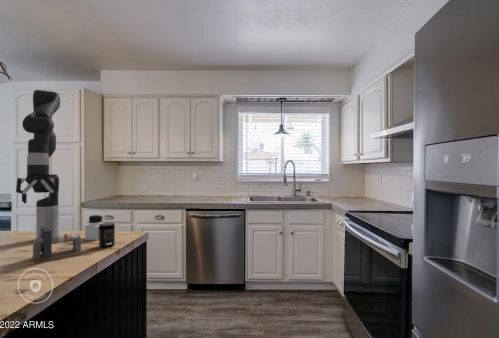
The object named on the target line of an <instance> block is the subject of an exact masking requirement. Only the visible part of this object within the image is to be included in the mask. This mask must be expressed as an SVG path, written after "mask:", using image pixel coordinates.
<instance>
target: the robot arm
mask: <svg viewBox="0 0 499 338" xmlns="http://www.w3.org/2000/svg"><path fill="white" fill-rule="evenodd" d="M32 106H33V107H32V108H33V112H31V113H29V114H27V115H25V117H24V118H23V120H22V123H21V124H22V125H21V126H22V128H23V130H24V131H25V132H26V133H29V134H33V138H30V139H29V140H28V142H27V157H26V177H22V178H21V177H18V178H16V188H15V192H16V193H17V194H21V202H22V203H23V204H27V202H28V201H27V199H28V198H27V196H28V194H27V193H28V192H29V191H30V190H31V189H32V190H33V192H34V193H36V194H40V193H41V194H42V193H43V194H44V193H48V196H46V197H44V198H41V199H38V200H37V201H36V202H35V203H36V204H35V205H36V207H35V208H36V210H35V211H36V219H35V221H36V224H35V226H36V228H35V230H36V231H35V236H36V237H35V239H39V238H41V227H49V228H50V230H51V231H52V237H54V236H59V192H60V190H59V189H60V177H59V175H58V174H54V173H53V174H51V173H50V158H51V156H52V155H53V154H54V153H55V152H56V149H57V135H56V133H55V132H54V127H55V123H54V121H53V119H52V118H53V115H54V114H55V113H57V111H58V110H59V109H60V106H61V98H60V95H59V93H58V92H55V91H50V90H42V89H35V90H34V91H33V94H32ZM24 182H26V183H27V186H25V187H24V189H23V190H22V189H21V188H22V187H21V186H22V184H24Z"/></svg>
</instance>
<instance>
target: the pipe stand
mask: <svg viewBox="0 0 499 338" xmlns="http://www.w3.org/2000/svg"><path fill="white" fill-rule="evenodd" d="M69 242H72V248H68V249H62V250H55V251H52V256H48V257H44V256H43V254H42V253H41V246H43V238H39V239H36V238H34V239H33V242H32V260H33V263H34V264H38V263H44V262H50V261H53V260H59V259H65V258H71V257H77V256H82V255H83V254H82V253H83V252H82V237H81V233H80V232H77V233H71V234H62V235H58V236H54V237H52V245H57V244H66V243H69Z"/></svg>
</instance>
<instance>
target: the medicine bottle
mask: <svg viewBox="0 0 499 338" xmlns="http://www.w3.org/2000/svg"><path fill="white" fill-rule="evenodd" d="M99 224H103V215H100V214H93V215H90V216H89V217H88V224H86V226H84V232H85V233H84V240H85V241H99Z"/></svg>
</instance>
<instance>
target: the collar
mask: <svg viewBox="0 0 499 338" xmlns="http://www.w3.org/2000/svg"><path fill="white" fill-rule="evenodd" d="M41 238H43V246H41V254H43V256H44V257H48V256H52V252H53V250H52V249H53V248H52V247H53V246H52V245H53V244H52V231H51V230H50V228H49V227H41Z"/></svg>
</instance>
